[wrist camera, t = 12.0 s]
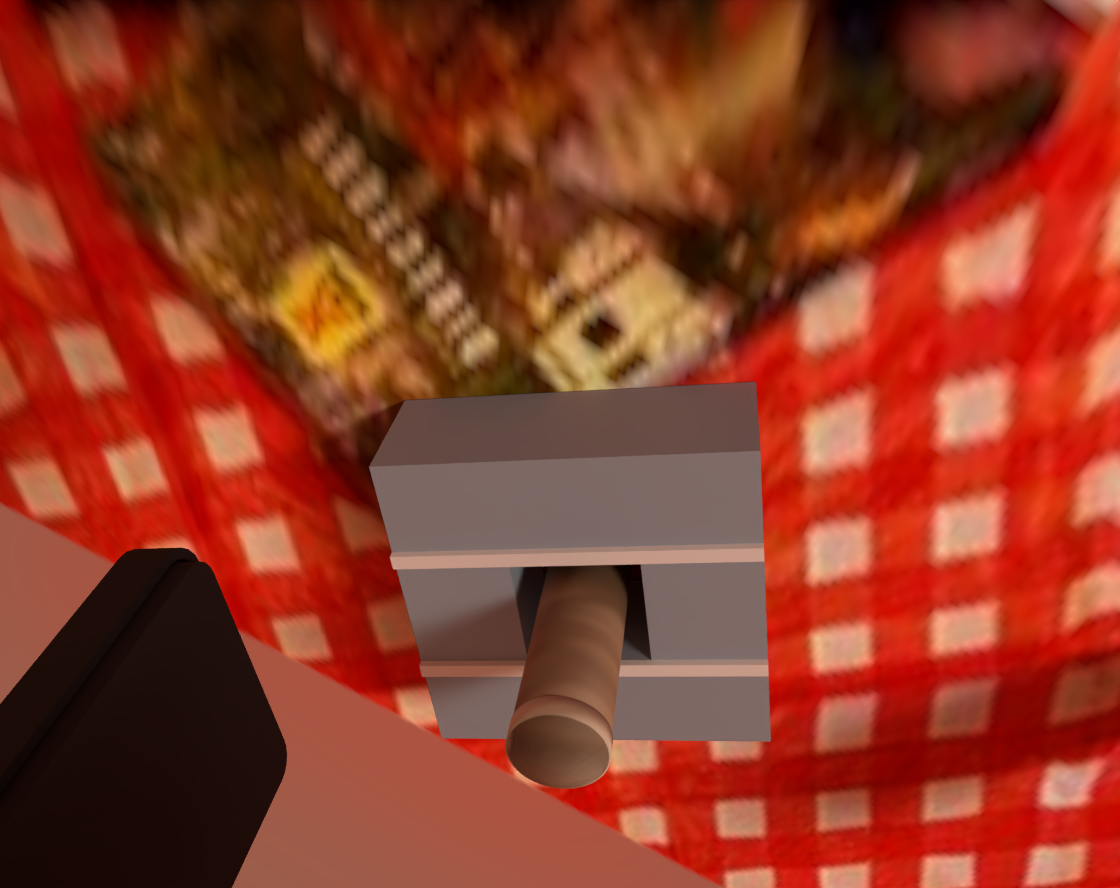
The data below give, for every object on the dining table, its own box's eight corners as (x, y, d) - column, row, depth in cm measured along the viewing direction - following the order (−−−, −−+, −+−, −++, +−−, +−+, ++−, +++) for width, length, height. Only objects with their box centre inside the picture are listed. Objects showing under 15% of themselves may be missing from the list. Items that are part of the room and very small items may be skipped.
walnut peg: (632, 499, 42) (604, 714, 32) (640, 566, 44) (615, 789, 34) (550, 502, 43) (497, 713, 33) (560, 567, 45) (513, 787, 34)
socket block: (755, 381, 39) (760, 455, 34) (766, 656, 46) (770, 746, 41) (405, 400, 41) (366, 471, 37) (466, 657, 48) (440, 743, 44)
